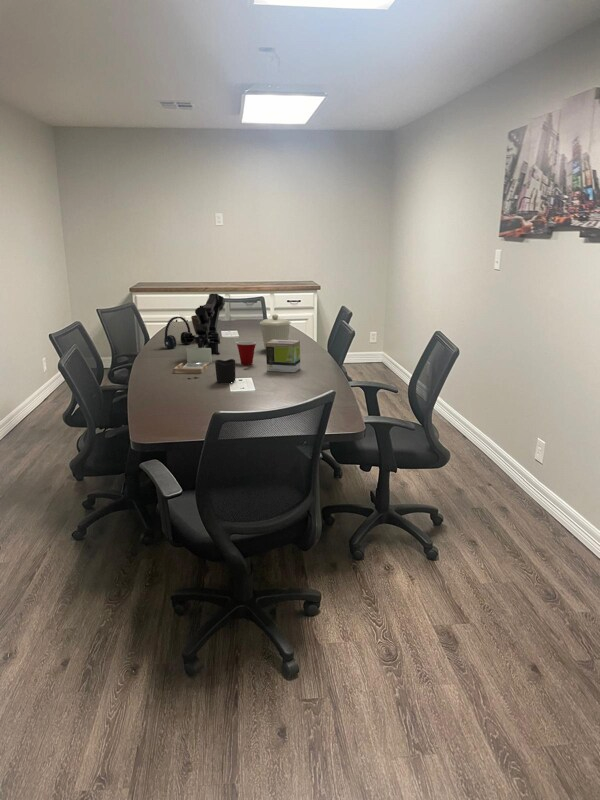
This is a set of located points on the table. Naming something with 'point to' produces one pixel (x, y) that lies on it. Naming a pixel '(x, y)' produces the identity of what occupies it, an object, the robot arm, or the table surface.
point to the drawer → (198, 356)
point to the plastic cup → (246, 352)
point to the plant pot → (195, 321)
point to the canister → (275, 329)
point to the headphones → (170, 339)
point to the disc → (195, 364)
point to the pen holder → (225, 371)
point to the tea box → (283, 355)
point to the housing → (179, 370)
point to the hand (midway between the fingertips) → (199, 350)
